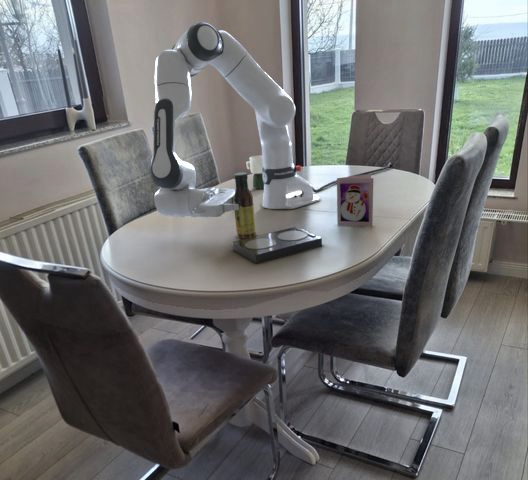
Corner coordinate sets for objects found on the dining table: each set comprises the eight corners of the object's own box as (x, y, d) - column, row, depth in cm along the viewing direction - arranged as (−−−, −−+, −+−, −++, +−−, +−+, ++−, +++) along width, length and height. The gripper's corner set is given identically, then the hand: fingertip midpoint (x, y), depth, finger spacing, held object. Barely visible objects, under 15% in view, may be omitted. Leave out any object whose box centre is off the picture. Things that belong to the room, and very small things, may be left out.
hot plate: (295, 234, 162) (295, 225, 160) (321, 246, 150) (321, 236, 149) (233, 250, 154) (232, 241, 152) (256, 263, 142) (255, 254, 140)
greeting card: (336, 226, 166) (336, 178, 158) (342, 219, 171) (342, 173, 164) (371, 227, 162) (372, 178, 154) (376, 220, 167) (377, 173, 160)
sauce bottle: (236, 234, 167) (229, 172, 157) (255, 232, 167) (249, 170, 157) (237, 240, 161) (230, 176, 151) (257, 238, 161) (251, 174, 151)
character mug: (274, 185, 225) (272, 154, 218) (269, 189, 219) (267, 158, 213) (251, 186, 228) (248, 155, 222) (245, 189, 222) (242, 158, 216)
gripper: (188, 201, 152) (231, 201, 148) (212, 185, 169) (252, 184, 165) (191, 222, 155) (234, 222, 152) (215, 204, 172) (254, 204, 168)
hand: (243, 202), depth 159 cm, fingers open, 8 cm apart
